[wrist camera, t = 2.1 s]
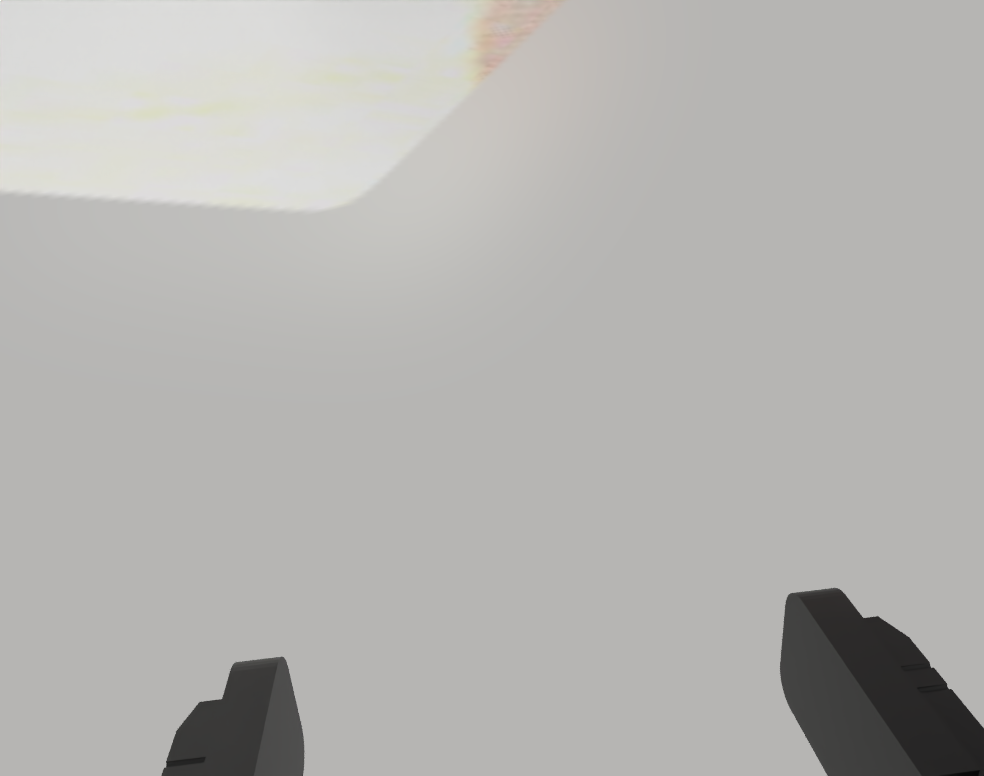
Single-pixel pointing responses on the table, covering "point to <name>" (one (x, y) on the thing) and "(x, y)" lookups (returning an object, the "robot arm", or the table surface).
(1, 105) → the table surface
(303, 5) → the table surface
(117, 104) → the table surface
